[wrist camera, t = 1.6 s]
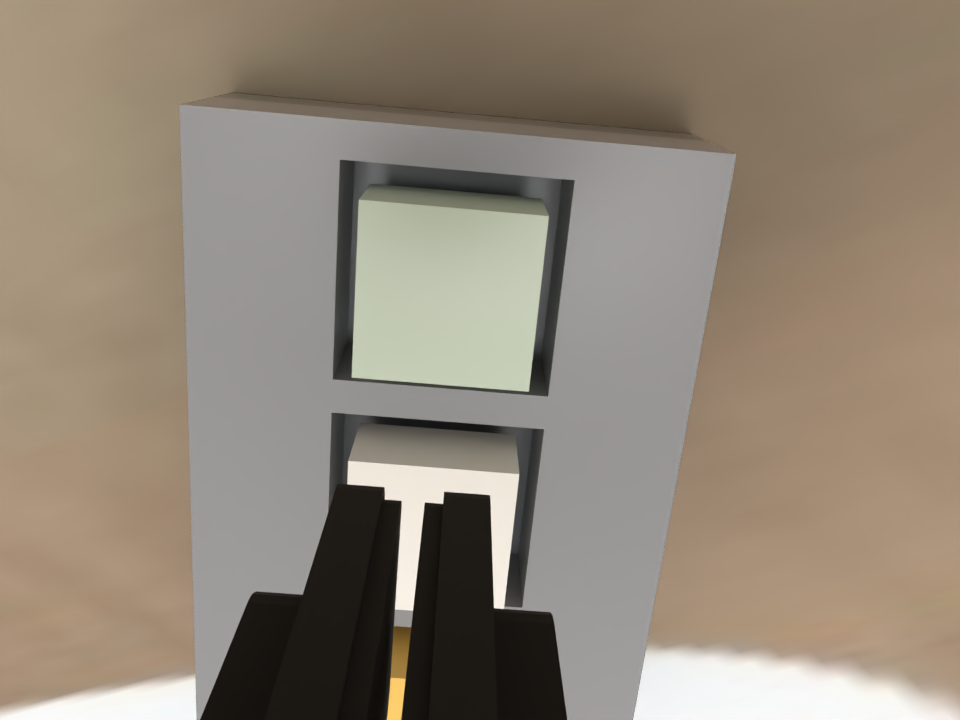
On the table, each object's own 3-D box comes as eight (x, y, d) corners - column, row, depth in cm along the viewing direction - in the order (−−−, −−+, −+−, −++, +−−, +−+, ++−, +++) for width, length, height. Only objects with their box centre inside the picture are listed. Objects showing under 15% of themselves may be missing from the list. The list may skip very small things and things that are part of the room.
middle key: (515, 434, 26) (519, 474, 24) (500, 568, 28) (503, 617, 25) (359, 422, 26) (348, 460, 24) (353, 557, 28) (342, 605, 25)
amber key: (493, 631, 29) (495, 684, 26) (481, 744, 30) (481, 803, 28) (351, 621, 28) (339, 674, 26) (346, 734, 30) (334, 794, 28)
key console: (691, 134, 27) (736, 154, 22) (596, 709, 35) (615, 814, 30) (231, 92, 27) (179, 104, 22) (237, 684, 34) (198, 788, 29)
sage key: (541, 198, 24) (548, 216, 21) (524, 358, 25) (528, 391, 23) (370, 183, 24) (358, 199, 21) (363, 345, 25) (351, 377, 23)
